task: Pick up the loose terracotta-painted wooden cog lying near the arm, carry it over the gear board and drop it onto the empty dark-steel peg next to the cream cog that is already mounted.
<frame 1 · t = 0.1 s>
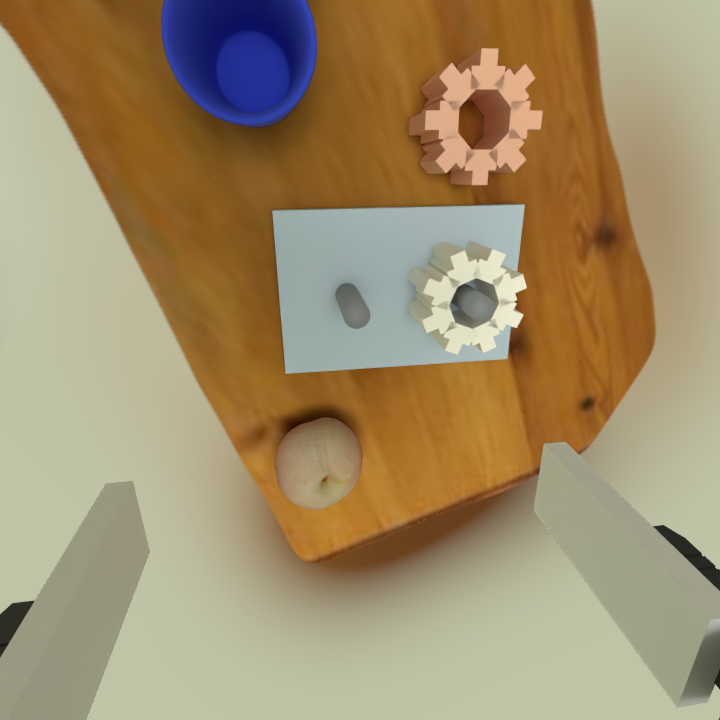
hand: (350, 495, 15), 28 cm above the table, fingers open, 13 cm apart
fruit: (316, 437, 46), on the table
gear board: (397, 288, 41), on the table
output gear: (453, 289, 41), resting on gear board
mug: (267, 51, 34), on the table
loose gear: (460, 127, 37), on the table
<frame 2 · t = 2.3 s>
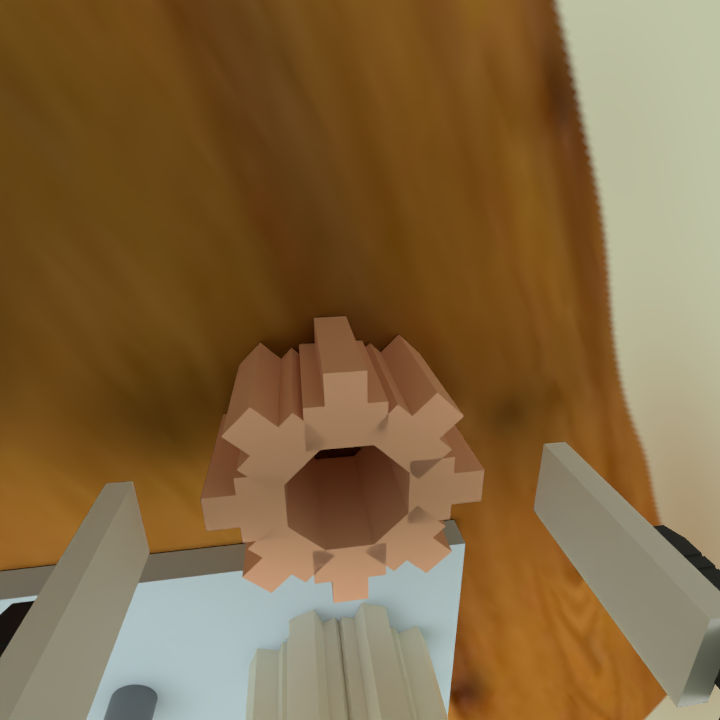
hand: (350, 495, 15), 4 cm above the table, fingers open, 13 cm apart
gear board: (243, 652, 23), on the table
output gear: (340, 667, 22), resting on gear board
loose gear: (333, 418, 19), on the table
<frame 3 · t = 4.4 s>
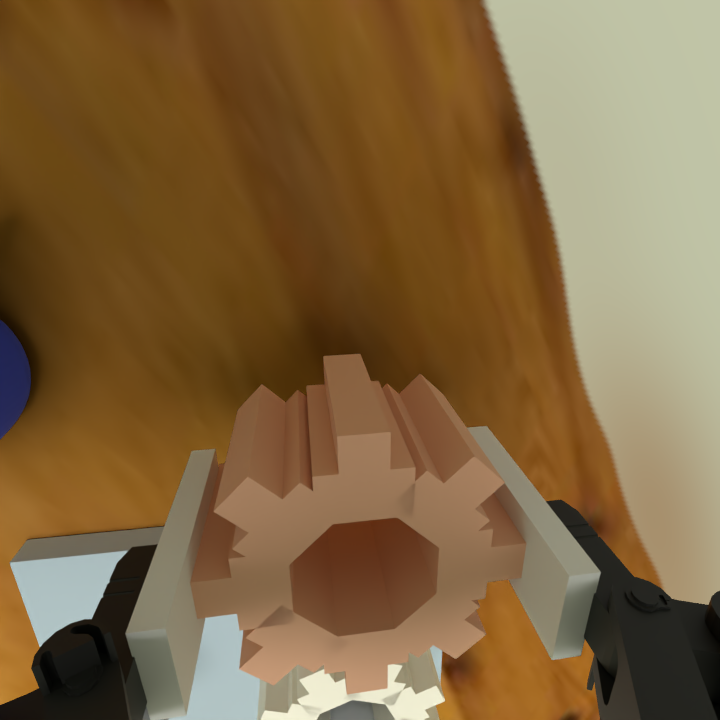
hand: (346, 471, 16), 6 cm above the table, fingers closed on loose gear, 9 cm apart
gear board: (257, 618, 26), on the table
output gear: (343, 631, 25), resting on gear board
loose gear: (345, 467, 16), point 6 cm above the table, touching gripper
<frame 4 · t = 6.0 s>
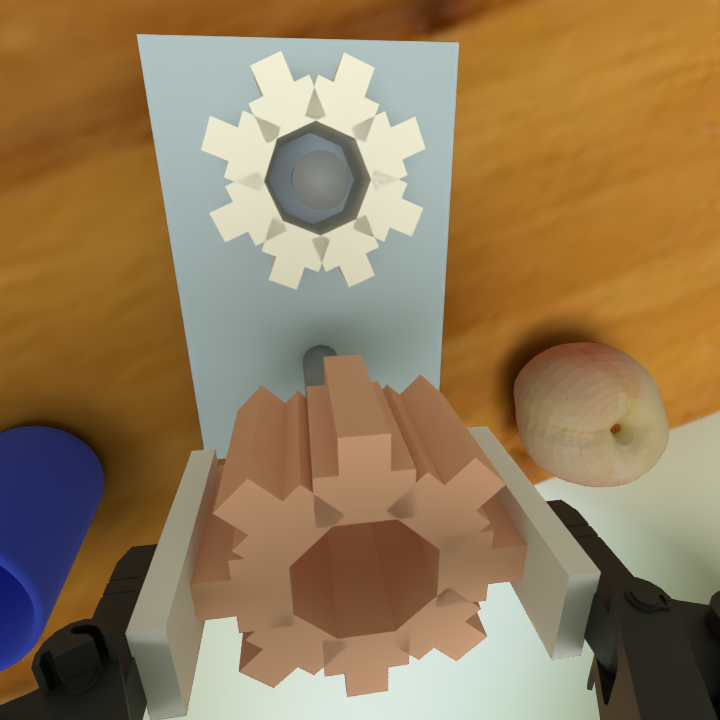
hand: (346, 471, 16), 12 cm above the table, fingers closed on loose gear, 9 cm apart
fruit: (546, 382, 30), on the table
gear board: (315, 272, 25), on the table
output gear: (311, 179, 22), resting on gear board
mug: (16, 453, 27), on the table
loose gear: (345, 468, 16), point 12 cm above the table, touching gripper
when the fingers open (3 cm above the table, at t = 7.9 s): loose gear drops 1 cm, resting on gear board.
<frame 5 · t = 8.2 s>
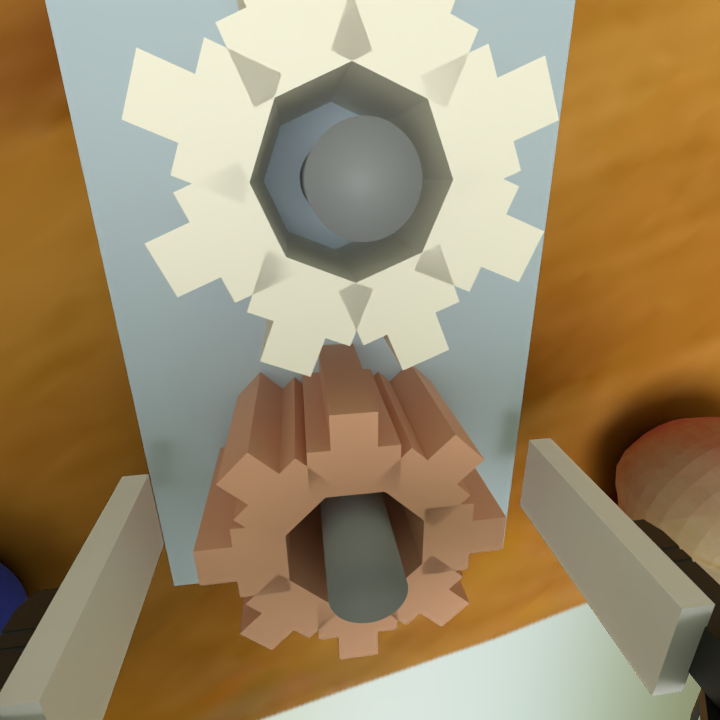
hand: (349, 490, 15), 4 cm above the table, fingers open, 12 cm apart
fruit: (651, 460, 22), on the table
gear board: (334, 317, 17), on the table
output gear: (333, 179, 14), resting on gear board
loose gear: (339, 451, 17), point 1 cm above the table, touching gear board
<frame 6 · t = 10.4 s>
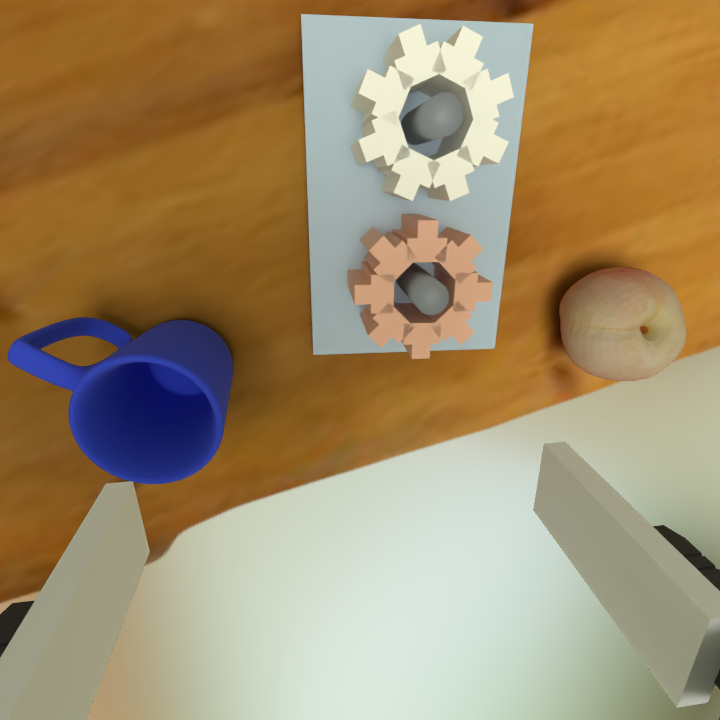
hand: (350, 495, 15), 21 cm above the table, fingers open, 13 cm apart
fruit: (584, 308, 37), on the table
gear board: (407, 205, 32), on the table
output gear: (415, 127, 29), resting on gear board
mug: (165, 345, 34), on the table
loose gear: (407, 277, 33), point 1 cm above the table, touching gear board
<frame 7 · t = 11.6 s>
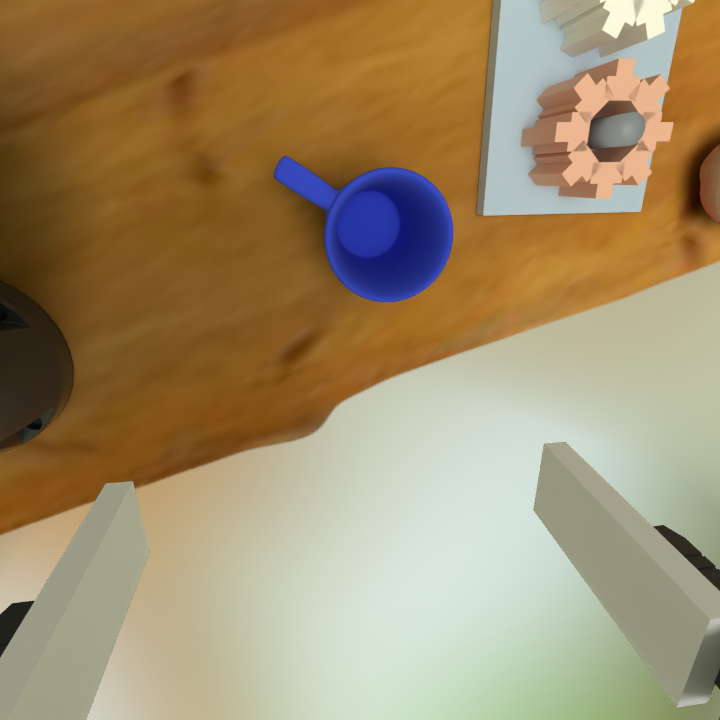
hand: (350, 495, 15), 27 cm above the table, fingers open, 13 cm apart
fruit: (715, 178, 41), on the table
gear board: (573, 70, 36), on the table
mug: (346, 210, 37), on the table
loose gear: (573, 137, 36), point 1 cm above the table, touching gear board
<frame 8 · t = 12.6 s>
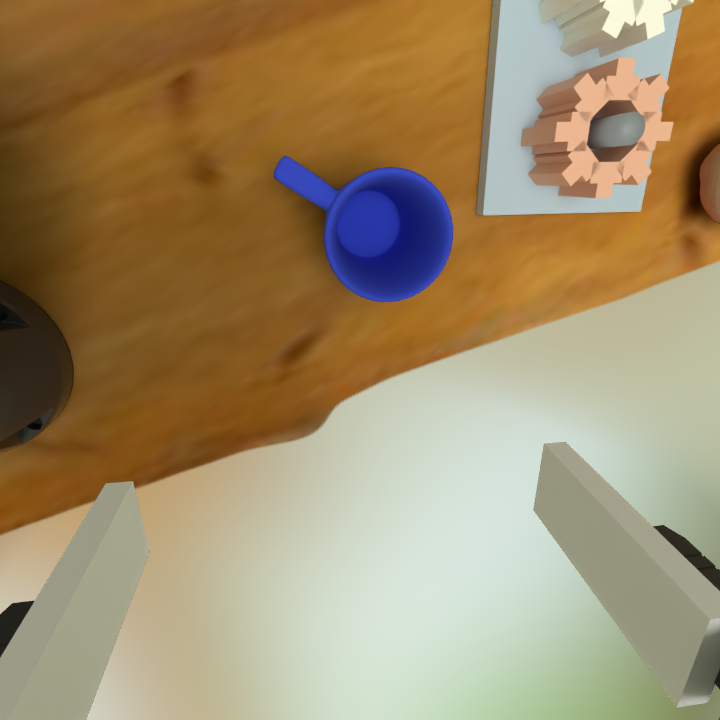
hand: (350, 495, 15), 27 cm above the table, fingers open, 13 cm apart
fruit: (715, 178, 41), on the table
gear board: (573, 70, 36), on the table
mug: (346, 210, 37), on the table
loose gear: (573, 137, 36), point 1 cm above the table, touching gear board
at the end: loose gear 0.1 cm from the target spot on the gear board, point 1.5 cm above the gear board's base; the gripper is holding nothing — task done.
